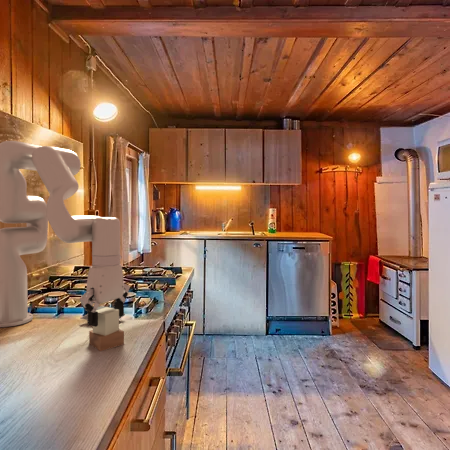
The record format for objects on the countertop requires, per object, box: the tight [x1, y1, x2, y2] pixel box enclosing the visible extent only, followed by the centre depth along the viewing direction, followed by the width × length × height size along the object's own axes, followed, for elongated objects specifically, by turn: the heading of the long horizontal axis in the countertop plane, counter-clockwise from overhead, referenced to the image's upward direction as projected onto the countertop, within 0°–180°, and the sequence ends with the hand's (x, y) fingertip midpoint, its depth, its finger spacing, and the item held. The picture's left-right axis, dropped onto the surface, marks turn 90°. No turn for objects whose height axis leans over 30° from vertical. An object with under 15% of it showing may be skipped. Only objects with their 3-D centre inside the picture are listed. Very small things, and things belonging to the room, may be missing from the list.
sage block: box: [92, 306, 120, 336], centre depth 98 cm, size 5×5×6 cm
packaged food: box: [80, 305, 126, 322], centre depth 117 cm, size 9×12×5 cm
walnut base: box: [88, 328, 125, 352], centre depth 98 cm, size 7×7×4 cm
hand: (106, 320), depth 98 cm, fingers open, 9 cm apart
